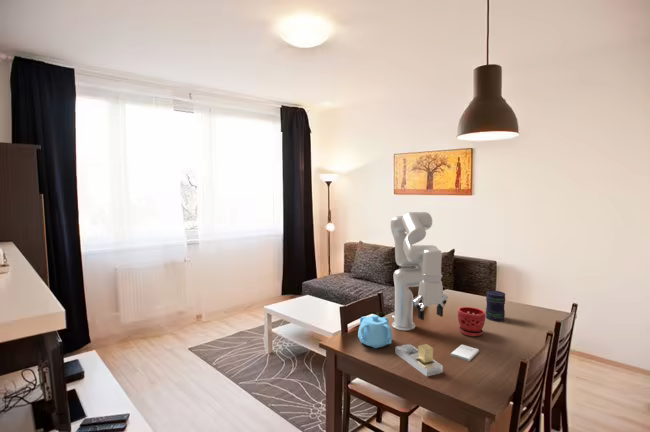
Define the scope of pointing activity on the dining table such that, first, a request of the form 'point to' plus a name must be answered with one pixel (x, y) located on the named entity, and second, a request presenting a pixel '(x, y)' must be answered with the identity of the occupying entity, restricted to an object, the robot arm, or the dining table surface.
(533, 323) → the dining table surface
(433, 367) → the grey slotted plate
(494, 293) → the storage jar
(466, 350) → the external hard drive
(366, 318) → the decorative pot
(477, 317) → the plant pot
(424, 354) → the gold rectangular block
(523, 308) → the dining table surface
